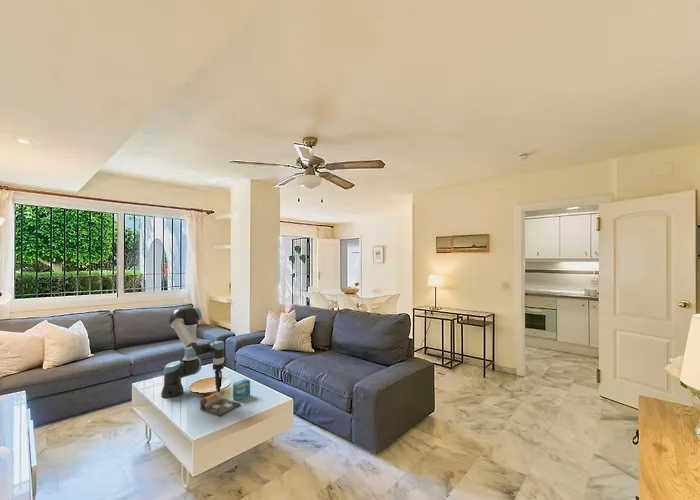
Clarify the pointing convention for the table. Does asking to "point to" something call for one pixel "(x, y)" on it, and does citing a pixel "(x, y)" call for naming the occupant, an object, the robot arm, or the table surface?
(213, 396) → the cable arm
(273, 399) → the table surface
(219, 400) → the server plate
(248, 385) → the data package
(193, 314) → the robot arm
